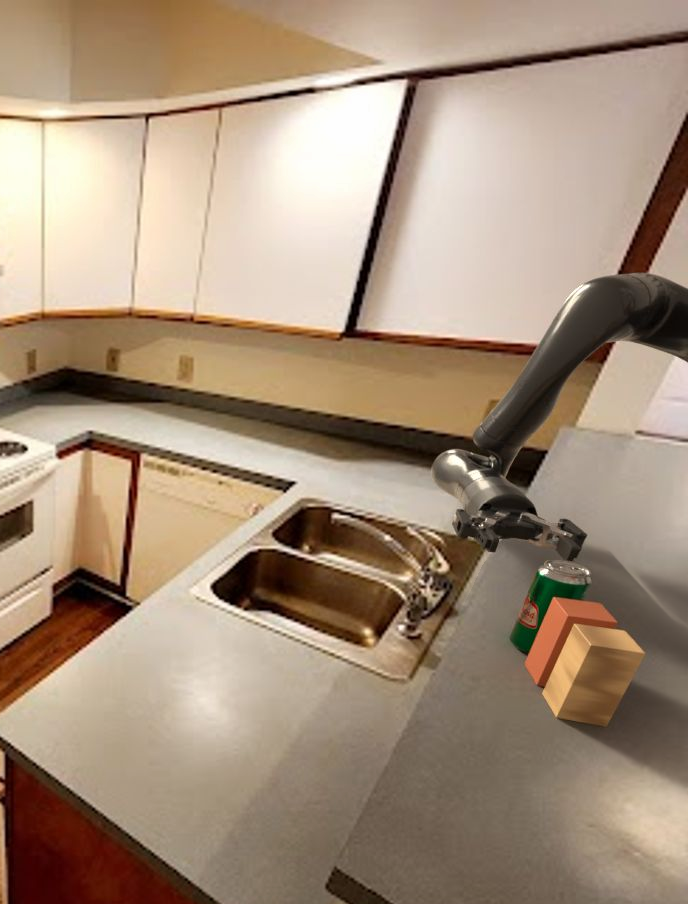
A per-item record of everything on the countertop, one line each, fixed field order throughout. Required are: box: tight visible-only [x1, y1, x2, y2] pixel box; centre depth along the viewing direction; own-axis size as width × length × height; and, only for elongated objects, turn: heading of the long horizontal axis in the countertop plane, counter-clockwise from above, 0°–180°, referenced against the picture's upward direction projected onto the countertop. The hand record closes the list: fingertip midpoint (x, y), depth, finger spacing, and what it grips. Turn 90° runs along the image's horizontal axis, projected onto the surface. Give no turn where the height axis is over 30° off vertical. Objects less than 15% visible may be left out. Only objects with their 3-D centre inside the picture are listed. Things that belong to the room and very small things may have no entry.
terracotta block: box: [524, 597, 619, 688], centre depth 74 cm, size 4×4×10 cm
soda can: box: [509, 559, 592, 655], centre depth 79 cm, size 5×5×12 cm
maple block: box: [541, 624, 646, 728], centre depth 69 cm, size 4×4×10 cm
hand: (532, 550), depth 85 cm, fingers open, 8 cm apart
